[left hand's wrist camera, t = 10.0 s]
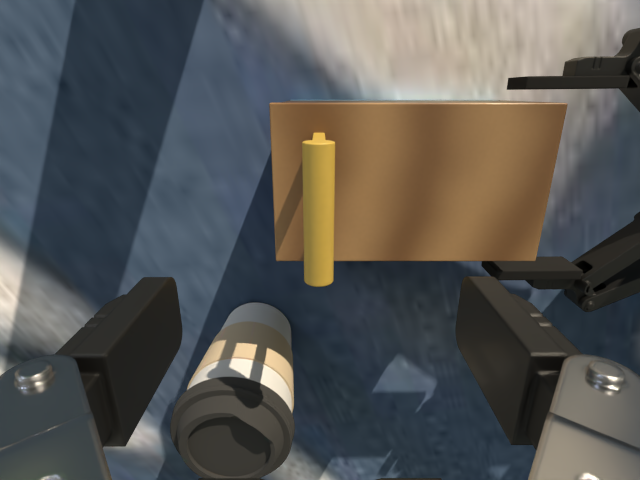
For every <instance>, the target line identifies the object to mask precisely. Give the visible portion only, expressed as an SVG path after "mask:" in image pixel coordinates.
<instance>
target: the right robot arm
mask: <svg viewBox="0 0 640 480" xmlns="http://www.w3.org/2000/svg"><path fill="white" fill-rule="evenodd" d="M622 44H623V47H622V48H621V50H620V52H619V53H618V54H617V55H615V56H614V57H581V58H574V59H571V60H569V61H566V62H565V66H564V71H563V76H536V77H516V78H508V85H507V90H513V89H606V88H619V89H620V90H621V91H622V92H623V94H624V95H625V96H626V97H627V98H628V99H629V100H630V102H631V103H632V104H633V105H634V106H635V107H636V108H637V109H638V111H639V112H640V28H637V29H632V30H629V31H628V32H626V34H625V35H624V37H623V39H622ZM482 267H483V268H484V269H485V270H486V271H487V272H488V273H489V274H490V275H491V276H492V277H495V278H496V279H497V280H526V281H527V282H528V283H529V284H530V285H531V286H532V287H534V288H537V289H565V291H564V294H565V296H566V297H568V298H569V299H570V300H571V301H572V302H574V303H575V304H576V305H577V306H578V307H580V308H581V309H582V310H583V311H585V312H591V311H593V310H596V309H599V308H601V307H604V306H606V305H609V304H611V303H614V302H616V301H619V300H621V299H624V298H626V297H629V296H631V295H634V294H636V293H639V292H640V212H639V213H637V214H636V215H635V216H634V221H633V222H631V223H630V224H628V225H627V226H625V227H624V228H622V229H621V230H619V231H618V232H616V233H615V234H613V235H612V236H610V237H609V238H607V239H606V240H604V241H603V242H601V243H600V244H598V245H597V246H595V247H594V248H592V249H591V250H589V251H588V252H586V253H585V254H583V255H582V256H580V257H579V258H577V259H576V260H574V261H573V262H569V261H568V260H566V259H565V258H563V257H536V260H535V261H482Z"/></svg>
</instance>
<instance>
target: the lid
mask: <svg viewBox="0 0 640 480" xmlns="http://www.w3.org/2000/svg"><path fill="white" fill-rule="evenodd" d="M269 107H270V131H271V155H272V179H273V203H274V226H275V250H276V261H304V281H305V283H306V284H308V285H310V286H315V287H322V286H327V285H330V284H331V283H332V282H333V269H334V261H535V260H536V255H537V250H538V246H539V241H540V236H541V231H542V226H543V221H544V216H545V211H546V207H547V202H548V197H549V192H550V187H551V182H552V177H553V172H554V168H555V163H556V158H557V153H558V148H559V143H560V138H561V133H562V129H563V124H564V119H565V114H566V109H567V103H270V104H269Z"/></svg>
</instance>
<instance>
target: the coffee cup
mask: <svg viewBox="0 0 640 480" xmlns="http://www.w3.org/2000/svg"><path fill="white" fill-rule="evenodd" d="M293 407H294V388H293V354H292V350H291V327H290V324H289V322H288V320H287V318H286V317H285V316H284V314H283V313H282V312H280V311H279V310H278V309H276V308H275V307H273V306H271V305H268V304H264V303H247V304H244V305H241V306H239V307H237V308H236V309H235V310H233V311H232V312H231V314H230V315H229V317H228V318H227V320H226V322H225V324H224V325H223V327H222V329H221V331H220V332H219V333H218V334H217V335H216V337H215V338H214V340H213V342H212V344H211V345H210V347H209V349H208V351H207V352H206V354H205V356H204V358H203V359H202V361H201V363H200V365H199V366H198V368H197V370H196V372H195V373H194V375H193V377H192V379H191V380H190V382H189V385H188V388H187V391H186V392H185V393H184V394H183V395H182V396H181V397H180V398H179V400H178V401H177V403H176V405H175V407H174V410H173V414H172V419H171V424H170V433H171V438H172V441H173V443H174V445H175V447H176V449H177V451H178V452H179V454H180V455H181V457H182V459H183V460H184V462H185V463H186V465H187V466H188V467H189V468H190V469H191V470H192V471H193V472H195V473H196V474H198V475H199V476H201V477H203V478H261V477H263V476H265V475H267V474H269V473H271V472H273V471H274V470H275V469H277V468H278V467H279V466H280V465H281V464H282V463H283V462H284V461H285V459H286V458H287V456H288V454H289V452H290V449H291V444H292V440H293V437H294V431H295V424H294V418H293V415H292V412H293Z"/></svg>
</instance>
